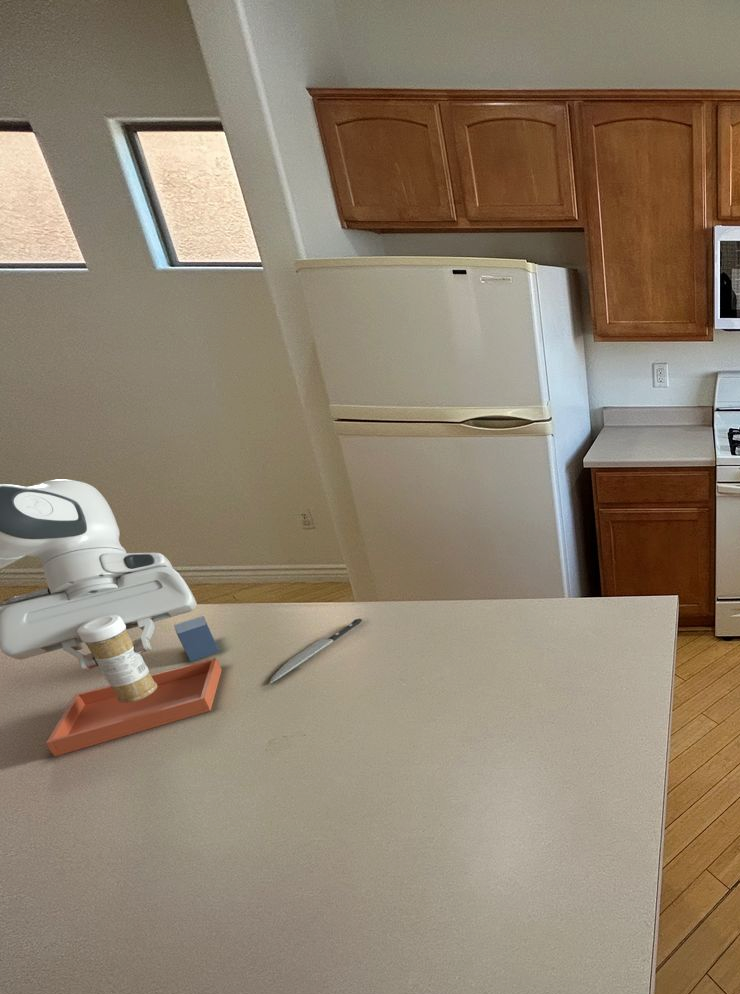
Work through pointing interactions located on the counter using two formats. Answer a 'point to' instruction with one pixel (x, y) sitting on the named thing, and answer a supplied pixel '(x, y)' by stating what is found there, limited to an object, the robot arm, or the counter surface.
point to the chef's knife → (311, 651)
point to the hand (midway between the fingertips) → (118, 659)
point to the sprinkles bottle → (117, 658)
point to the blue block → (196, 638)
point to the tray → (135, 708)
